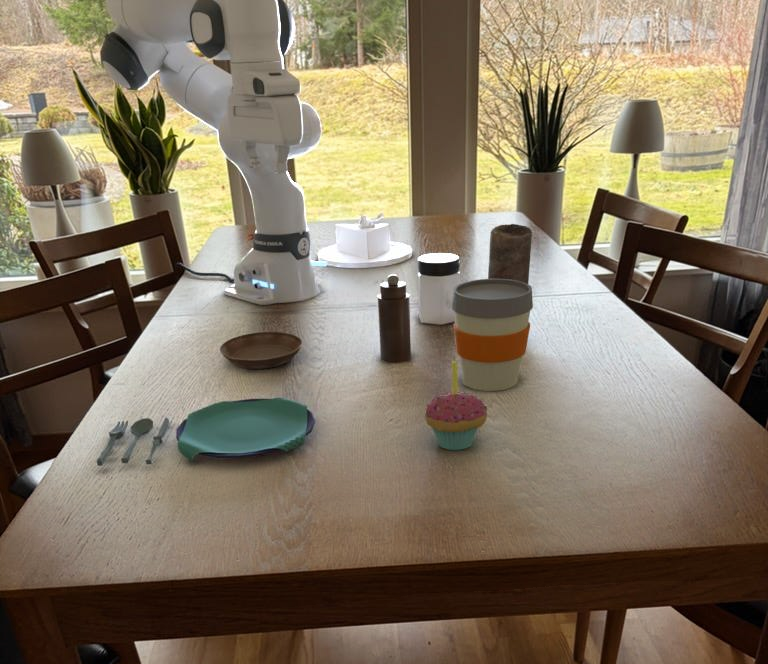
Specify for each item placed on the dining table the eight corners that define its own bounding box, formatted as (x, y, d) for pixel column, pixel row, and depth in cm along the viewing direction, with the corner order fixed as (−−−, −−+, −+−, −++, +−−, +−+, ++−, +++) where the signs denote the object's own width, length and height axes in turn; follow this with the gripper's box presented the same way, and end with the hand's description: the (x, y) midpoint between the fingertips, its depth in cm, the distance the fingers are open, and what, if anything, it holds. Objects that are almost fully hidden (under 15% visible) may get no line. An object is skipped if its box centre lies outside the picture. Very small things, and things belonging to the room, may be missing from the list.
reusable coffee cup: (483, 401, 122) (485, 305, 114) (436, 378, 131) (435, 287, 123) (545, 382, 127) (551, 289, 119) (495, 361, 136) (498, 274, 129)
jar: (433, 328, 154) (432, 265, 148) (409, 318, 160) (407, 258, 154) (469, 318, 158) (469, 257, 152) (444, 309, 164) (444, 250, 158)
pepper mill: (374, 359, 140) (370, 276, 133) (391, 350, 144) (388, 269, 136) (400, 364, 137) (397, 280, 130) (416, 355, 141) (414, 272, 134)
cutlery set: (315, 463, 106) (313, 448, 105) (90, 478, 105) (86, 463, 104) (316, 405, 123) (315, 392, 122) (123, 418, 122) (120, 404, 121)
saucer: (303, 370, 137) (301, 355, 136) (217, 376, 136) (215, 361, 135) (304, 342, 150) (302, 329, 148) (225, 348, 149) (223, 334, 148)
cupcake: (421, 432, 113) (420, 352, 107) (480, 428, 113) (482, 347, 107) (430, 459, 106) (428, 374, 99) (492, 454, 106) (495, 369, 100)
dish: (428, 250, 212) (428, 205, 206) (378, 271, 194) (376, 224, 188) (353, 242, 224) (350, 200, 218) (299, 262, 206) (295, 217, 200)
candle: (529, 335, 148) (535, 224, 137) (522, 348, 142) (527, 232, 131) (489, 333, 150) (492, 223, 140) (480, 345, 144) (483, 231, 134)
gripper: (214, 82, 138) (225, 167, 145) (271, 83, 124) (280, 178, 131) (246, 80, 141) (255, 163, 149) (305, 81, 127) (312, 173, 134)
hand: (267, 170), depth 140 cm, fingers open, 8 cm apart
